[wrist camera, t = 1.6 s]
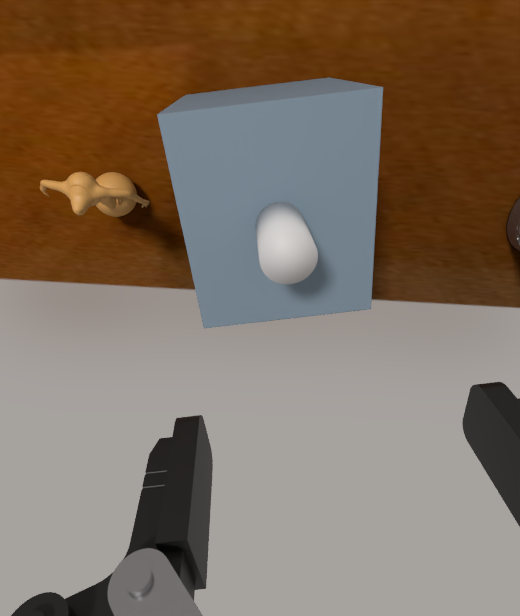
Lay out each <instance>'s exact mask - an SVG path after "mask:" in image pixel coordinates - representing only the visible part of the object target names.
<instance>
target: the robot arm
mask: <svg viewBox="0 0 520 616" xmlns="http://www.w3.org/2000/svg"><path fill="white" fill-rule="evenodd" d="M507 235H508V239H509V241H510V243H511V244H512V246H513V247H514V248H515V249H517V250H518V251H519V252H520V198H519V199H518V201H517V202H516V203H515V205H514V207H513V209H512V211H511V213H510V216H509V219H508V224H507ZM463 430H464V434H465V437H466V439H467V441H468V443H469V444H470V446H471V448H472V449H473V451H474V453H475V454H476V456H477V458H478V459H479V461H480V462H481V464H482V466H483V467H484V469H485V471H486V472H487V474H488V476H489V477H490V479H491V480H492V482H493V484H494V485H495V487H496V488H497V490H498V492H499V493H500V495H501V497H502V498H503V500H504V502H505V503H506V505H507V506H508V508H509V510H510V511H511V513H512V515H513V516H514V518H515V520H516V521H517V523H518V525H519V526H520V399H517V398H516V397H515V396H514V395H513V393H512V392H511V391H510V390H509V388H508V387H507V386H506V385H505V384H503V383H501V382H495V383H487V384H478V385H473V386H472V387H471V389H470V393H469V397H468V401H467V405H466V409H465V413H464V418H463ZM211 486H212V453H211V447H210V443H209V439H208V435H207V431H206V428H205V424H204V420H203V417H202V416H201V415H200V416H191V417H182V418H177V419H176V421H175V426H174V432H173V437H170V438H161V439H159V441H158V442H157V444H156V445H155V447H154V448H153V450H152V451H151V453H150V455H149V459H148V464H147V468H146V475H145V477H144V482H143V490H142V491H141V496H140V500H139V505H138V510H137V514H136V519H135V523H134V528H133V532H132V537H131V542H130V546H129V549H128V552H127V554H126V556H125V558H124V559H123V560H122V561H121V563H120V564H119V565H118V566H117V568H116V569H115V571H114V572H113V573H112V574H111V575H110V576H108V577H107V578H106V579H104V580H103V581H101V582H99V583H97V584H96V585H94V586H91V587H89V588H87V589H85V590H83V591H81V592H79V593H77V594H74V595H72V596H70V597H68V598H66V599H64V598H63V597H61V596H60V595H59V594H56V593H52V592H49V593H42V594H39V595H36V596H34V597H32V598H31V599H29V600H27V601H26V602H25V603H24V604H22V605H21V606H20V607H19V608H18V609H17V610H16V611H15V612H14V613H13V614H12V615H11V616H202V614H201V612H200V611H199V609H198V607H197V606H196V604H195V603H194V591H195V590H198V589H205V588H206V578H207V560H208V559H207V558H208V541H209V523H210V505H211Z"/></svg>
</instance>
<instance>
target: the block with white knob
mask: <svg viewBox="0 0 520 616" xmlns="http://www.w3.org/2000/svg"><path fill="white" fill-rule="evenodd" d="M382 97H383V87H379V86H374V85H368V84H362V83H357V82H351V81H345V80H340V79H334V78H321V79H313V80H304V81H296V82H288V83H280V84H272V85H263V86H255V87H247V88H239V89H231V90H222V91H214V92H206V93H198V94H190V95H185V96H183V97H182V98H181V99H179V100H178V101H176V102H175V103H173V104H172V105H170V106H169V107H167V108H166V109H165V110H163V111H162V112H160V113H159V114H157V116H158V121H159V125H160V130H161V134H162V139H163V144H164V148H165V153H166V157H167V162H168V166H169V171H170V176H171V180H172V185H173V189H174V194H175V198H176V203H177V207H178V212H179V217H180V221H181V226H182V230H183V235H184V239H185V244H186V248H187V253H188V258H189V262H190V267H191V271H192V276H193V280H194V285H195V290H196V294H197V299H198V303H199V308H200V312H201V317H202V321H203V326H204V328H211V327H220V326H229V325H237V324H246V323H254V322H263V321H271V320H280V319H289V318H297V317H306V316H314V315H322V314H332V313H340V312H348V311H357V310H366V309H371V298H372V280H373V261H374V243H375V225H376V207H377V188H378V170H379V152H380V134H381V115H382Z"/></svg>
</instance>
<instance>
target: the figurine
mask: <svg viewBox="0 0 520 616" xmlns="http://www.w3.org/2000/svg"><path fill="white" fill-rule="evenodd" d="M40 184H41V186H40V190H41V191H42V192H43V193H44V194H45V195H47V196H48V197H49V195H48V194H47V193H46V192H45V191H46V190H47V188H50V189H53V190H58V191H61V192H62V193H64V194H65V195H67V196H68V197H69V198H70V200H71V204H72V209H73V211H74V212H75V213H76V214H77V215H83V214H84V213H86V211H87V209H88V208H89V207H91V206H94V205H96V206H97V208H98V209H99V210H100V211H102V212H103V213H105V214H107V215H109V216H114V217H119V216H124V215H126V214H128V213H129V212H131V211H132V209H133V208H134V207H135V205H136V202H138V203H142V208H143V206H145V207H147V205H149V203H150V201H148V200H144V199H142V198H141V197H140V196H138V195H137V191H136V188H135V186H134V184H133V183H132V181H131V180H130V179H129V178H127V177H126V176H124V175H122V174H120V173H116V172H109V173H105V174H103V175H101V176H99V177H98V178H97V179H96V180H95V179H94V178H93V177H92V176H91V175H89V174H87V173H84V172H76V173H73V174H72V175H70V176H69V178H68V179H67V180H66V181H63V182H58V181H51V180H42V181H41V182H40Z"/></svg>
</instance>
